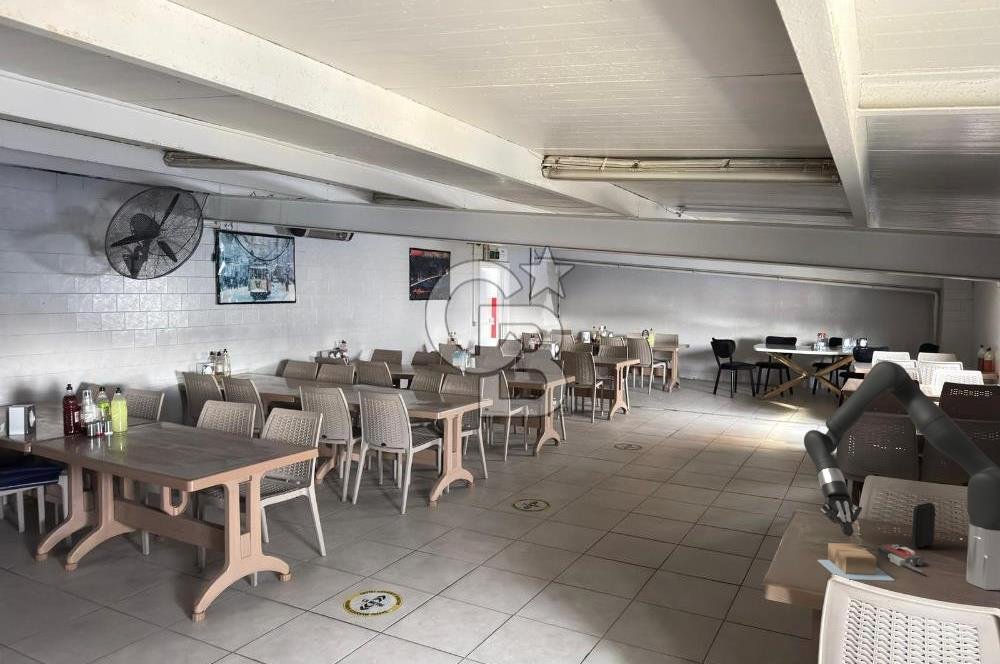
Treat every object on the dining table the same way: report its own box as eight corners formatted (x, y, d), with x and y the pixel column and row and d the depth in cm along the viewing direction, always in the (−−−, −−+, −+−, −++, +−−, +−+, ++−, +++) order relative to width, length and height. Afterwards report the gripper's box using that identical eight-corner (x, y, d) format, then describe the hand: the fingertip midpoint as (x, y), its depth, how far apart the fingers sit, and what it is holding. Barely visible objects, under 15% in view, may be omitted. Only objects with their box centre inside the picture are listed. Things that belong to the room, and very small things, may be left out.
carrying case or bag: (928, 543, 240) (930, 500, 239) (937, 545, 237) (939, 502, 237) (909, 547, 235) (911, 504, 234) (918, 550, 232) (920, 506, 232)
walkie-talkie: (870, 553, 229) (920, 577, 210) (871, 540, 229) (920, 563, 210) (893, 552, 231) (944, 575, 212) (894, 538, 231) (945, 561, 212)
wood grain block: (856, 559, 222) (876, 574, 210) (827, 559, 222) (845, 573, 210) (857, 543, 221) (876, 557, 209) (828, 543, 222) (846, 557, 210)
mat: (894, 581, 206) (894, 580, 206) (839, 579, 206) (839, 578, 206) (869, 562, 221) (869, 561, 221) (817, 560, 221) (817, 559, 221)
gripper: (816, 478, 226) (831, 528, 215) (858, 480, 226) (875, 530, 214) (808, 490, 232) (823, 540, 220) (849, 491, 232) (866, 541, 220)
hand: (849, 535), depth 217 cm, fingers closed
